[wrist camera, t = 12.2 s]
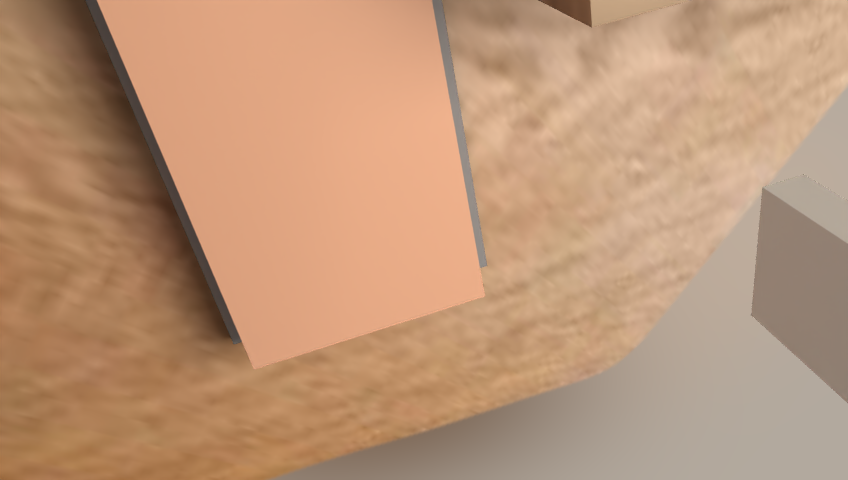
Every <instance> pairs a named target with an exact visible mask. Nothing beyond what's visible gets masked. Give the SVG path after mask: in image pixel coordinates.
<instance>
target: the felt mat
mask: <svg viewBox="0 0 848 480" xmlns="http://www.w3.org/2000/svg"><path fill="white" fill-rule="evenodd" d="M85 1H86V3H87V6H88V8H89V10H90V13H91V15H92V17H93V20H94V22H95V24H96V27H97V29H98V31H99V34H100V36H101V38H102V40H103V43H104V45H105V47H106V50H107V52H108V54H109V57H110V59H111V61H112V64H113V66H114V68H115V71H116V73H117V75H118V77H119V80H120V82H121V84H122V87H123V89H124V91H125V94H126V96H127V98H128V101H129V103H130V105H131V108H132V110H133V112H134V115H135V117H136V119H137V121H138V124H139V126H140V128H141V131H142V133H143V135H144V138H145V140H146V142H147V145H148V147H149V149H150V152H151V154H152V156H153V158H154V161H155V163H156V165H157V168H158V170H159V172H160V175H161V177H162V179H163V182H164V184H165V186H166V189H167V191H168V193H169V195H170V198H171V200H172V202H173V205H174V207H175V209H176V212H177V214H178V216H179V219H180V221H181V223H182V226H183V228H184V230H185V233H186V235H187V237H188V239H189V242H190V244H191V246H192V249H193V251H194V253H195V256H196V258H197V260H198V263H199V265H200V267H201V270H202V272H203V274H204V276H205V279H206V281H207V283H208V286H209V288H210V290H211V293H212V295H213V297H214V300H215V302H216V304H217V307H218V309H219V311H220V313H221V316H222V318H223V320H224V323H225V325H226V327H227V330H228V332H229V334H230V337H231V339H232V341H233V344H237V343H240V342H242V340H241V338H240V336H239V333H238V331H237V329H236V326H235V324H234V322H233V319H232V317H231V315H230V312H229V310H228V307H227V305H226V303H225V300H224V298H223V296H222V293H221V291H220V289H219V286H218V284H217V282H216V279H215V277H214V275H213V272H212V270H211V268H210V265H209V263H208V260H207V258H206V256H205V253H204V251H203V249H202V246H201V244H200V242H199V239H198V237H197V235H196V232H195V230H194V228H193V225H192V223H191V221H190V218H189V216H188V213H187V211H186V209H185V206H184V204H183V202H182V199H181V197H180V195H179V192H178V190H177V188H176V185H175V183H174V181H173V178H172V176H171V174H170V171H169V169H168V166H167V164H166V162H165V159H164V157H163V155H162V152H161V150H160V148H159V145H158V143H157V141H156V138H155V136H154V134H153V131H152V129H151V127H150V124H149V122H148V119H147V117H146V115H145V112H144V110H143V108H142V105H141V103H140V101H139V98H138V96H137V94H136V91H135V89H134V87H133V84H132V82H131V80H130V77H129V75H128V72H127V70H126V68H125V65H124V63H123V61H122V58H121V56H120V54H119V51H118V49H117V47H116V44H115V42H114V40H113V37H112V35H111V33H110V30H109V28H108V25H107V23H106V21H105V18H104V16H103V14H102V11H101V9H100V7H99V4H98V2H97V0H85ZM432 3H433V9H434V15H435V20H436V26H437V31H438V37H439V42H440V48H441V54H442V59H443V65H444V70H445V76H446V81H447V87H448V93H449V98H450V104H451V109H452V115H453V120H454V126H455V132H456V137H457V143H458V148H459V154H460V159H461V165H462V171H463V176H464V182H465V187H466V193H467V198H468V204H469V210H470V215H471V221H472V226H473V232H474V237H475V243H476V249H477V254H478V260H479V265H480V268H482V267H485V266H487V262H486V256H485V251H484V245H483V239H482V233H481V227H480V221H479V215H478V210H477V204H476V198H475V192H474V186H473V180H472V174H471V168H470V163H469V157H468V151H467V145H466V139H465V133H464V127H463V122H462V116H461V110H460V104H459V98H458V92H457V86H456V81H455V75H454V69H453V63H452V57H451V51H450V45H449V39H448V34H447V28H446V22H445V16H444V10H443V4H442V0H432Z"/></svg>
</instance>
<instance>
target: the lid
mask: <svg viewBox="0 0 848 480" xmlns="http://www.w3.org/2000/svg"><path fill="white" fill-rule="evenodd" d="M97 2H98V4H99V7H100V9H101V11H102V14H103V16H104V18H105V21H106V23H107V25H108V28H109V30H110V33H111V35H112V37H113V40H114V42H115V44H116V47H117V49H118V51H119V54H120V56H121V58H122V61H123V63H124V65H125V68H126V70H127V72H128V75H129V77H130V80H131V82H132V84H133V87H134V89H135V91H136V94H137V96H138V98H139V101H140V103H141V105H142V108H143V110H144V112H145V115H146V117H147V119H148V122H149V124H150V127H151V129H152V131H153V134H154V136H155V138H156V141H157V143H158V145H159V148H160V150H161V152H162V155H163V157H164V159H165V162H166V164H167V166H168V169H169V171H170V174H171V176H172V178H173V181H174V183H175V185H176V188H177V190H178V192H179V195H180V197H181V199H182V202H183V204H184V206H185V209H186V211H187V213H188V216H189V218H190V221H191V223H192V225H193V228H194V230H195V232H196V235H197V237H198V239H199V242H200V244H201V246H202V249H203V251H204V253H205V256H206V258H207V260H208V263H209V265H210V268H211V270H212V272H213V275H214V277H215V279H216V282H217V284H218V286H219V289H220V291H221V293H222V296H223V298H224V300H225V303H226V305H227V307H228V310H229V312H230V315H231V317H232V319H233V322H234V324H235V326H236V329H237V331H238V333H239V336H240V338H241V340H242V343H243V345H244V347H245V350H246V352H247V355H248V357H249V359H250V362H251V364H252V366H253V369H257V368H261V367H264V366H267V365H270V364H273V363H276V362H280V361H283V360H286V359H289V358H292V357H295V356H298V355H302V354H305V353H308V352H311V351H314V350H317V349H321V348H324V347H327V346H330V345H333V344H336V343H339V342H343V341H346V340H349V339H352V338H355V337H358V336H362V335H365V334H368V333H371V332H374V331H377V330H380V329H384V328H387V327H390V326H393V325H396V324H399V323H402V322H406V321H409V320H412V319H415V318H418V317H421V316H425V315H428V314H431V313H434V312H437V311H440V310H443V309H447V308H450V307H453V306H456V305H459V304H462V303H466V302H469V301H472V300H475V299H478V298H481V297H484V296H485V293H484V288H483V282H482V276H481V271H480V265H479V260H478V254H477V249H476V243H475V237H474V232H473V226H472V221H471V215H470V210H469V204H468V198H467V193H466V187H465V182H464V176H463V171H462V165H461V159H460V154H459V148H458V143H457V137H456V132H455V126H454V120H453V115H452V109H451V104H450V98H449V93H448V87H447V81H446V76H445V70H444V65H443V59H442V54H441V48H440V42H439V37H438V31H437V26H436V20H435V15H434V9H433V3H432V0H97Z"/></svg>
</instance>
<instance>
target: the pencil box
mask: <svg viewBox="0 0 848 480" xmlns="http://www.w3.org/2000/svg"><path fill="white" fill-rule="evenodd" d="M539 1H541V2H543V3H545V4H547V5H549V6H551V7H553V8H555V9H557V10H559V11H561V12H563V13H565V14H567V15H569V16H570V17H572V18H574V19H576V20H578V21H580V22H582V23H584V24H586V25H588V26H590V27H596V26H599V25H603V24H607V23H610V22H614V21H618V20H621V19H625V18H629V17H632V16H636V15H640V14H643V13H647V12H651V11H654V10H658V9H662V8H665V7H669V6H673V5H676V4H680V3H684V2H687V1H691V0H539Z"/></svg>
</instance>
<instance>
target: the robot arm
mask: <svg viewBox="0 0 848 480" xmlns="http://www.w3.org/2000/svg"><path fill="white" fill-rule="evenodd" d="M751 315H752V316H753V317H754V318H755V319H756V320H757V321H758V322H759V323H760V324H761V325H763V326H764V327H765V328H766V329H767V330H768V331H769V332H770V333H771V334H772V335H774V336H775V337H776V338H777V339H778V340H779V341H780V342H781V343H782V344H784V345H785V346H786V347H787V348H788V349H789V350H790V351H791V352H792V353H793V354H794V355H796V356H797V357H798V358H799V359H800V360H801V361H802V362H803V363H805V365H807V366H808V367H809V368H810V369H811V370H812V371H813V372H814V373H815V374H816V375H817V376H819V377H820V378H821V379H822V380H823V381H824V382H825V383H826V384H827V385H829V386H830V387H831V388H832V389H833V390H834V391H835V392H836V393H837V394H838V395H839V396H841V397H842V398H843V399H844V400H845V401H846V402H847V403H848V200H846V199H844V198H842V197H841V196H839V195H838V194H836V193H834V192H833V191H831V190H829V189H827V188H826V187H824V186H822V185H821V184H819V183H817V182H816V181H814V180H812V179H811V178H809V177H807V176H806V175H804V174H803V175H800V176H797V177H794V178H790V179H787V180H784V181H781V182H777V183H775V184H771V185H768V186H765V187H762V199H761V211H760V222H759V233H758V245H757V256H756V267H755V279H754V290H753V302H752V313H751Z"/></svg>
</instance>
